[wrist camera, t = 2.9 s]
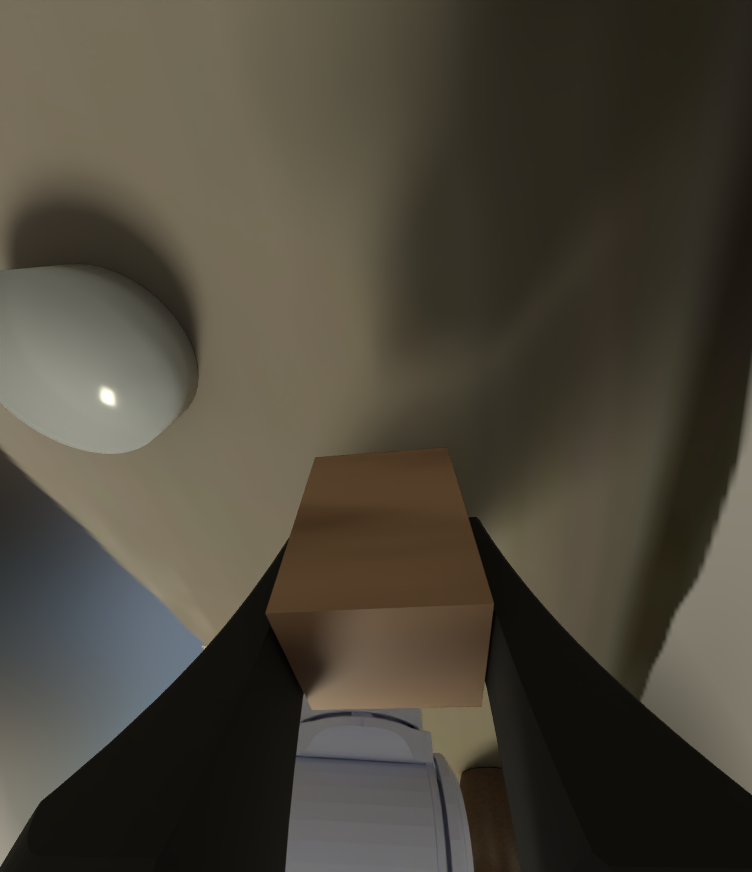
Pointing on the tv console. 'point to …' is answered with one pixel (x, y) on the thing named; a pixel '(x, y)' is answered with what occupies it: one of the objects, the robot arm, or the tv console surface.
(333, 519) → the walnut block
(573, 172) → the tv console surface
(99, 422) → the pale grey round disc
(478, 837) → the plant pot
